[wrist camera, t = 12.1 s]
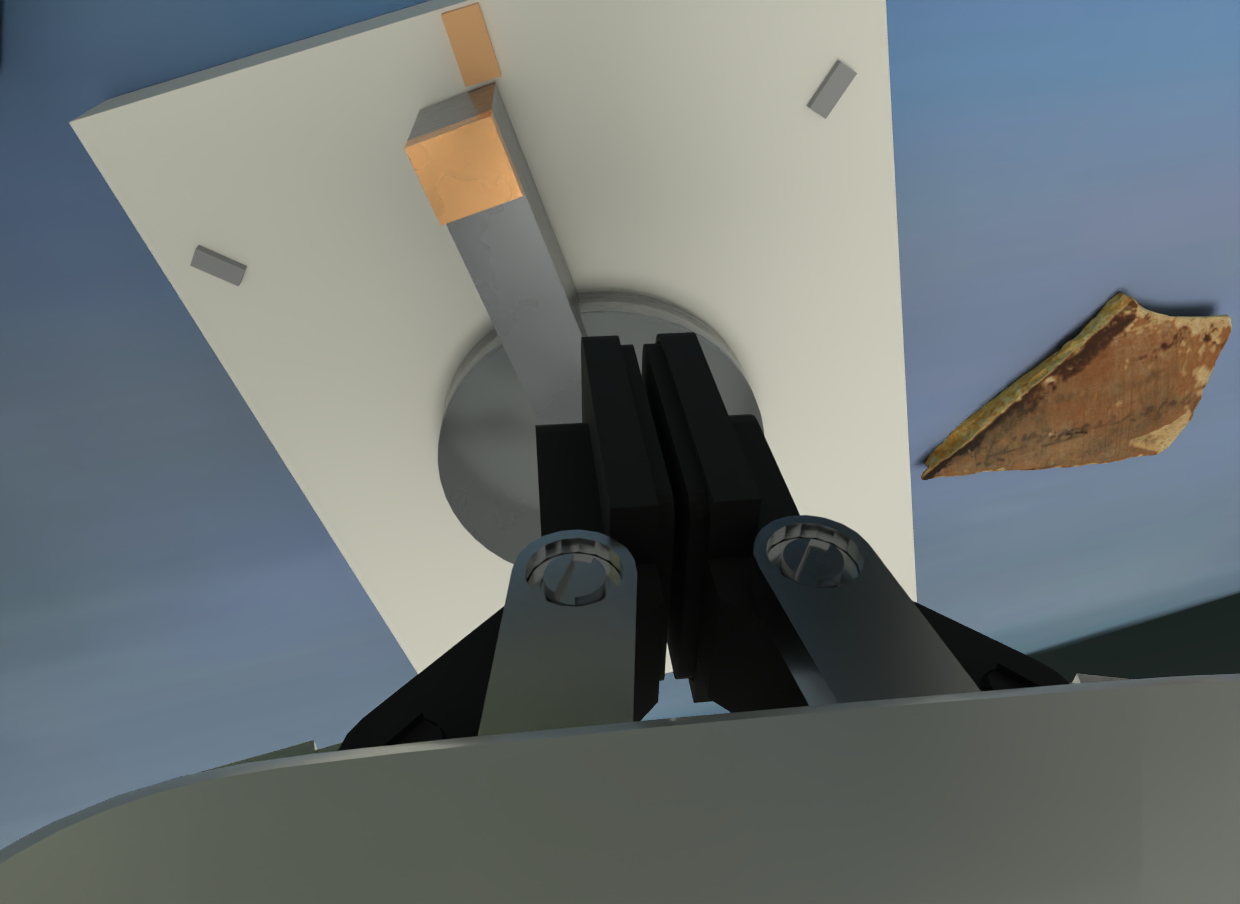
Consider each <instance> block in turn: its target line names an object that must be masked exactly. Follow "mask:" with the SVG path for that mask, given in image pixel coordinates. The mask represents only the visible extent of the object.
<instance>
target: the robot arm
mask: <svg viewBox="0 0 1240 904" xmlns="http://www.w3.org/2000/svg"><path fill="white" fill-rule="evenodd" d="M581 389H582V423H568V424H549V425H535V429H536V448H537V466H538V485H539V503H540V522H541V538H539V539H537V540H535V541H533V542H532V543H530V544H528V545H527V546H526V547H525V549H524V550H523V551H522V552H521V553H520V554H519V555H518V556H517V558H516V561H515V563H514V565H513V568H512V571H511V576H510V581H509V586H508V591H507V596H506V601H505V605H504V606H503V607H502V608H501V609H500V610H498V611H497V612H496V613H495V614H493V615H492V616H491V617H490V618H488V619H487V620H486V621H484V622H483V623H482V624H481V625H479V626H478V627H477V628H476V629H474V630H473V631H472V632H471V633H469V634H468V635H467V636H466V637H464V638H463V639H462V640H461V641H459V642H458V643H457V644H456V645H454V646H453V647H452V648H451V649H449V650H448V651H447V652H446V653H444V654H443V655H442V656H440V657H439V658H438V659H437V660H435V661H434V662H433V663H432V664H430V665H429V666H428V667H427V668H425V669H424V670H423V671H422V672H420V673H419V674H418V675H417V676H415V677H414V678H413V679H412V680H410V681H409V682H408V683H407V684H405V685H404V686H403V687H401V688H400V689H399V690H398V691H396V692H395V693H394V694H393V695H391V696H390V697H389V698H388V699H386V700H385V701H384V702H383V703H381V704H380V705H379V706H378V707H376V708H375V709H374V710H373V711H371V712H370V713H369V714H368V715H366V716H365V717H364V718H363V719H362V720H361V721H360V722H359V723H358V724H357V725H356V726H355V727H354V728H353V729H352V730H351V731H350V732H349V733H348V734H347V735H346V737H345V739H344V741H343V742H342V743H339V744H335V745H332V746H328V747H325V748H321V749H318V750H317V748H316V745H315V742H314V740H312V741H309V742H305V743H302V744H298V745H294V746H291V747H287V748H284V749H280V750H277V751H273V752H270V753H266V754H262V755H259V756H255V757H252V758H248V759H245V760H241V761H238V762H234V763H230V764H227V765H223V766H220V767H216V768H213V769H209V770H206V771H202V772H198V773H195V774H190V775H185V776H181V777H177V778H174V779H171V780H167V781H164V782H161V783H157V784H154V785H151V786H147V787H144V788H141V789H137V790H134V791H131V792H127V793H124V794H121V795H118V796H115V797H113V798H110V799H108V800H105V801H103V802H101V803H98V804H96V805H93V806H91V807H88V808H86V809H84V810H81V811H79V812H76V813H74V814H71V815H69V816H67V817H64V818H62V819H59V820H57V821H54V822H52V823H50V824H48V825H46V826H44V827H42V828H41V829H39V830H37V831H35V832H33V833H31V834H29V835H27V836H25V837H23V838H21V839H19V840H17V841H16V842H14V843H12V844H10V845H9V846H7V847H5V848H4V849H2V850H0V904H1240V674H1226V675H1198V676H1179V677H1164V678H1150V679H1136V680H1131V679H1121V678H1112V677H1103V676H1094V675H1084V674H1077V675H1076V677H1075V679H1074V681H1073V683H1069V682H1068V681H1066V680H1065V679H1064V678H1063V677H1062V676H1061V675H1060V674H1059V673H1057V672H1056V671H1054V670H1052V669H1051V668H1049V667H1047V666H1046V665H1044V664H1042V663H1040V662H1039V661H1037V660H1035V659H1033V658H1031V657H1029V656H1027V655H1025V654H1023V653H1021V652H1019V651H1016V650H1014V649H1012V648H1010V647H1008V646H1006V645H1004V644H1002V643H1000V642H998V641H996V640H993V639H991V638H989V637H987V636H985V635H983V634H981V633H979V632H977V631H975V630H973V629H971V628H968V627H966V626H964V625H962V624H960V623H958V622H956V621H954V620H952V619H950V618H948V617H945V616H943V615H941V614H939V613H937V612H935V611H933V610H931V609H929V608H927V607H925V606H923V605H920V604H918V603H916V602H914V601H912V600H911V598H910V597H909V596H908V595H907V593H906V592H905V591H904V589H903V588H902V587H901V585H900V584H899V583H898V581H897V580H896V579H895V577H894V576H893V575H892V573H891V572H890V571H889V570H888V568H887V567H886V566H885V564H884V563H883V562H882V560H881V559H880V558H879V556H878V555H877V554H876V552H875V551H874V550H873V548H872V547H871V546H870V545H869V543H868V542H867V541H866V540H865V539H864V538H862V537H861V536H860V535H859V534H858V533H857V532H856V531H854V530H852V529H851V528H849V527H847V526H845V525H844V524H842V523H839V522H836V521H833V520H830V519H827V518H824V517H817V516H810V515H800V514H799V512H798V509H797V507H796V505H795V503H794V500H793V498H792V496H791V494H790V492H789V489H788V487H787V485H786V483H785V480H784V478H783V476H782V474H781V472H780V469H779V467H778V465H777V463H776V460H775V458H774V456H773V454H772V452H771V449H770V447H769V445H768V443H767V440H766V438H765V436H764V434H763V432H762V429H761V427H760V425H759V423H758V421H757V419H756V417H755V416H754V415H752V414H742V415H728V413H727V410H726V408H725V405H724V403H723V400H722V398H721V395H720V393H719V390H718V388H717V385H716V383H715V380H714V378H713V375H712V373H711V370H710V368H709V365H708V363H707V360H706V358H705V355H704V353H703V350H702V348H701V345H700V343H699V340H698V338H697V335H696V334H695V332H685V333H661V334H657V336H656V341H655V343H652V344H644V345H643V351H642V375H641V372H640V368H639V364H638V360H637V356H636V353H635V349H634V346H633V344H629V345H621V343H620V339H619V336H618V335H613V336H589V337H581ZM667 645H668V649H669V654H670V659H671V664H672V669H673V673H674V676H675V679H685V678H688V679H689V683H690V688H691V692H692V697H693V701H694V703H698V702H709V701H714V702H715V703H717V704H719V705H720V706H722V707H723V708H725V709H727V710H728V711H730V713H725V714H714V715H702V716H691V717H680V718H669V719H658V720H647V721H641V720H642V719H643V717H644V716H645V715H646V714H647V713H648V712H649V711H650V710H651V709H652V708H653V707H654V706H655V704H656V703H657V702H658V694H659V681H661V680H664V677H665V664H666V649H667Z"/></svg>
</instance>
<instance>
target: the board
mask: <svg viewBox="0 0 1240 904" xmlns="http://www.w3.org/2000/svg"><path fill="white" fill-rule="evenodd" d="M492 82H496V84H497V87H498V90H499V92H500V95H501V97H502V100H503V102H504V105H505V108H506V110H507V113H508V115H509V118H510V120H511V123H512V126H513V128H514V131H515V133H516V136H517V138H518V141H519V143H520V146H521V149H522V151H523V154H524V156H525V159H526V161H527V164H528V167H529V169H530V172H531V174H532V177H533V179H534V182H535V185H536V187H537V190H538V192H539V195H540V197H541V200H542V203H543V205H544V208H545V210H546V213H547V215H548V218H549V221H550V223H551V226H552V228H553V231H554V233H555V236H556V239H557V241H558V244H559V246H560V249H561V251H562V254H563V256H564V259H565V262H566V264H567V267H568V269H569V272H570V274H571V277H572V280H573V282H574V285H575V287H576V290H577V292H578V293H583V292H593V291H616V292H627V293H635V294H640V295H644V296H649V297H653V298H657V299H659V300H662V301H665V302H668V303H670V304H673V305H676V306H678V307H679V308H681V309H683V310H685V311H687V312H689V313H691V314H693V315H694V316H696V317H697V318H699V319H700V320H702V321H703V322H704V323H706V324H707V325H709V326H710V327H711V328H712V329H713V330H714V331H715V332H716V333H717V334H718V335H719V336H720V337H721V338H722V339H724V341H725V342H726V343H727V345H728V346H729V347H730V348H731V350H732V351H733V352H734V354H735V355H736V357H737V359H738V361H739V363H740V364H741V366H742V368H743V370H744V372H745V375H746V377H747V379H748V382H749V384H750V387H751V389H752V391H753V394H754V396H755V399H756V402H757V404H758V407H759V410H760V413H761V416H762V422H763V428H764V436H765V438H766V440H767V443H768V445H769V447H770V449H771V452H772V454H773V456H774V458H775V460H776V463H777V465H778V467H779V469H780V472H781V474H782V476H783V478H784V480H785V483H786V485H787V487H788V489H789V492H790V494H791V496H792V498H793V500H794V503H795V505H796V507H797V509H798V512H799V514H800V515H810V516H817V517H824V518H827V519H830V520H833V521H836V522H839V523H842V524H844V525H845V526H847V527H849V528H851V529H852V530H854V531H856V532H857V533H858V534H859V535H860V536H861V537H862V538H864V539H865V540H866V541H867V542H868V543H869V545H870V546H871V547H872V548H873V550H874V551H875V552H876V554H877V555H878V556H879V558H880V559H881V560H882V562H883V563H884V564H885V566H886V567H887V568H888V570H889V571H890V572H891V573H892V575H893V576H894V577H895V579H896V580H897V581H898V583H899V584H900V585H901V587H902V588H903V589H904V591H905V592H906V593H907V595H908V596H909V597H910V598H911V600H912V601H914V602H916V603H917V597H916V578H915V558H914V539H913V520H912V500H911V481H910V461H909V442H908V423H907V403H906V384H905V365H904V345H903V326H902V306H901V287H900V268H899V248H898V229H897V210H896V190H895V171H894V151H893V132H892V113H891V93H890V74H889V55H888V35H887V16H886V0H430V1H427V2H424V3H420V4H417V5H414V6H411V7H407V8H404V9H401V10H398V11H394V12H391V13H388V14H384V15H381V16H378V17H375V18H371V19H368V20H365V21H362V22H358V23H355V24H352V25H349V26H345V27H342V28H339V29H336V30H332V31H329V32H326V33H322V34H319V35H316V36H313V37H309V38H306V39H303V40H300V41H296V42H293V43H290V44H287V45H283V46H280V47H277V48H274V49H270V50H267V51H264V52H260V53H257V54H254V55H251V56H247V57H244V58H241V59H238V60H234V61H231V62H228V63H225V64H221V65H218V66H215V67H212V68H208V69H205V70H202V71H199V72H195V73H192V74H189V75H185V76H182V77H179V78H176V79H172V80H169V81H166V82H163V83H159V84H156V85H153V86H150V87H146V88H143V89H140V90H137V91H133V92H130V93H127V94H123V95H120V96H117V97H114V98H110V99H107V100H105V101H104V102H102V103H100V104H99V105H97V106H95V107H94V108H92V109H90V110H89V111H87V112H85V113H84V114H82V115H80V116H79V117H77V118H75V119H74V120H72V121H70V122H69V123H70V125H71V127H72V128H73V130H74V131H75V133H76V135H77V136H78V138H79V139H80V141H81V142H82V144H83V146H84V147H85V149H86V150H87V152H88V153H89V155H90V157H91V158H92V160H93V161H94V163H95V165H96V166H97V168H98V169H99V171H100V172H101V174H102V176H103V177H104V179H105V180H106V182H107V183H108V185H109V187H110V188H111V190H112V191H113V193H114V195H115V196H116V198H117V199H118V201H119V202H120V204H121V206H122V207H123V209H124V210H125V212H126V213H127V215H128V217H129V218H130V220H131V221H132V223H133V225H134V226H135V228H136V229H137V231H138V232H139V234H140V236H141V237H142V239H143V240H144V242H145V243H146V245H147V247H148V248H149V250H150V251H151V253H152V254H153V256H154V258H155V259H156V261H157V262H158V264H159V266H160V267H161V269H162V270H163V272H164V273H165V275H166V277H167V278H168V280H169V281H170V283H171V284H172V286H173V288H174V289H175V291H176V292H177V294H178V296H179V297H180V299H181V300H182V302H183V303H184V305H185V307H186V308H187V310H188V311H189V313H190V314H191V316H192V318H193V319H194V321H195V322H196V324H197V326H198V327H199V329H200V330H201V332H202V333H203V335H204V337H205V338H206V340H207V341H208V343H209V344H210V346H211V348H212V349H213V351H214V352H215V354H216V356H217V357H218V359H219V360H220V362H221V363H222V365H223V367H224V368H225V370H226V371H227V373H228V374H229V376H230V378H231V379H232V381H233V382H234V384H235V386H236V387H237V389H238V390H239V392H240V393H241V395H242V397H243V398H244V400H245V401H246V403H247V404H248V406H249V408H250V409H251V411H252V412H253V414H254V416H255V417H256V419H257V420H258V422H259V423H260V425H261V427H262V428H263V430H264V431H265V433H266V434H267V436H268V438H269V439H270V441H271V442H272V444H273V446H274V447H275V449H276V450H277V452H278V453H279V455H280V457H281V458H282V460H283V461H284V463H285V464H286V466H287V468H288V469H289V471H290V472H291V474H292V476H293V477H294V479H295V480H296V482H297V483H298V485H299V487H300V488H301V490H302V491H303V493H304V494H305V496H306V498H307V499H308V501H309V502H310V504H311V506H312V507H313V509H314V510H315V512H316V513H317V515H318V517H319V518H320V520H321V521H322V523H323V524H324V526H325V528H326V529H327V531H328V532H329V534H330V536H331V537H332V539H333V540H334V542H335V543H336V545H337V547H338V548H339V550H340V551H341V553H342V554H343V556H344V558H345V559H346V561H347V562H348V564H349V566H350V567H351V569H352V570H353V572H354V573H355V575H356V577H357V578H358V580H359V581H360V583H361V584H362V586H363V588H364V589H365V591H366V592H367V594H368V596H369V597H370V599H371V600H372V602H373V603H374V605H375V607H376V608H377V610H378V611H379V613H380V614H381V616H382V618H383V619H384V621H385V622H386V624H387V626H388V627H389V629H390V630H391V632H392V633H393V635H394V637H395V638H396V640H397V641H398V643H399V644H400V646H401V648H402V649H403V651H404V652H405V654H406V656H407V657H408V659H409V660H410V662H411V663H412V665H413V667H414V668H415V670H416V671H417V673H418V674H419V673H420V672H422V671H423V670H424V669H425V668H427V667H428V666H429V665H430V664H432V663H433V662H434V661H435V660H437V659H438V658H439V657H440V656H442V655H443V654H444V653H446V652H447V651H448V650H449V649H451V648H452V647H453V646H454V645H456V644H457V643H458V642H459V641H461V640H462V639H463V638H464V637H466V636H467V635H468V634H469V633H471V632H472V631H473V630H474V629H476V628H477V627H478V626H479V625H481V624H482V623H483V622H484V621H486V620H487V619H488V618H490V617H491V616H492V615H493V614H495V613H496V612H497V611H498V610H500V609H501V608H502V607H503V606H504V605H505V601H506V596H507V591H508V586H509V581H510V576H511V571H512V568H513V565H514V564H512V563H510V562H507V561H505V560H503V559H502V558H500V557H499V556H497V555H496V554H494V553H492V552H491V551H489V550H488V549H487V548H485V547H484V546H483V545H482V544H481V543H479V542H478V541H477V540H476V539H475V538H474V537H473V536H472V535H471V534H470V533H469V532H468V531H467V530H466V529H465V528H464V527H463V525H462V524H461V523H460V521H459V520H458V518H457V517H456V516H455V514H454V513H453V511H452V509H451V507H450V505H449V503H448V501H447V499H446V497H445V494H444V491H443V488H442V484H441V481H440V476H439V469H438V442H439V435H440V428H441V422H442V415H443V409H444V404H445V399H446V395H447V393H448V390H449V387H450V384H451V381H452V379H453V377H454V375H455V374H456V372H457V370H458V368H459V366H460V364H461V363H462V361H463V360H464V359H465V357H466V356H467V355H468V353H469V352H470V351H471V349H472V348H473V347H474V346H475V345H476V344H477V343H478V342H479V341H480V340H481V339H482V338H483V337H484V336H485V335H486V334H487V333H488V332H490V331H491V330H492V329H494V328H495V327H494V325H493V323H492V321H491V319H490V317H489V315H488V312H487V310H486V308H485V306H484V304H483V302H482V300H481V298H480V295H479V293H478V291H477V289H476V287H475V285H474V283H473V281H472V278H471V276H470V274H469V272H468V270H467V268H466V266H465V264H464V261H463V259H462V257H461V255H460V253H459V251H458V249H457V247H456V244H455V242H454V240H453V238H452V236H451V234H450V232H449V230H448V227H447V225H446V224H444V225H440V223H439V221H438V219H437V217H436V215H435V213H434V211H433V208H432V206H431V204H430V202H429V200H428V198H427V196H426V194H425V192H424V189H423V187H422V185H421V183H420V181H419V179H418V177H417V175H416V173H415V170H414V168H413V166H412V164H411V162H410V160H409V158H408V156H407V154H406V152H405V149H404V147H405V145H406V142H407V140H408V138H409V135H410V133H411V130H412V128H413V125H414V123H415V120H416V118H417V115H418V113H419V111H420V109H423V108H426V107H428V106H431V105H434V104H436V103H439V102H442V101H444V100H447V99H450V98H452V97H455V96H458V95H460V94H463V93H466V92H468V91H471V90H474V89H476V88H479V87H482V86H484V85H487V84H490V83H492ZM668 672H673V669H672V664H671V659H670V654H669V649H668V645H667V649H666V664H665V673H668Z"/></svg>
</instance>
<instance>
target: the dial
mask: <svg viewBox="0 0 1240 904" xmlns="http://www.w3.org/2000/svg"><path fill="white" fill-rule="evenodd" d="M404 149H405V152H406V154H407V156H408V158H409V160H410V162H411V164H412V166H413V168H414V170H415V173H416V175H417V177H418V179H419V181H420V183H421V185H422V187H423V189H424V192H425V194H426V196H427V198H428V200H429V202H430V204H431V206H432V208H433V211H434V213H435V215H436V217H437V219H438V221H439V223H440V225H444V224H446V225H447V227H448V230H449V232H450V234H451V236H452V238H453V240H454V242H455V244H456V247H457V249H458V251H459V253H460V255H461V257H462V259H463V261H464V264H465V266H466V268H467V270H468V272H469V274H470V276H471V278H472V281H473V283H474V285H475V287H476V289H477V291H478V293H479V295H480V298H481V300H482V302H483V304H484V306H485V308H486V310H487V312H488V315H489V317H490V319H491V321H492V323H493V325H494V327H495V328H494V329H492V330H491V331H490V332H488V333H487V334H486V335H485V336H484V337H483V338H482V339H481V340H480V341H479V342H478V343H477V344H476V345H475V346H474V347H473V348H472V349H471V351H470V352H469V353H468V355H467V356H466V357H465V359H464V360H463V361H462V363H461V364H460V366H459V368H458V370H457V372H456V374H455V375H454V377H453V379H452V381H451V384H450V387H449V390H448V393H447V395H446V399H445V404H444V409H443V415H442V422H441V428H440V435H439V442H438V469H439V476H440V481H441V484H442V488H443V491H444V494H445V497H446V499H447V501H448V503H449V505H450V507H451V509H452V511H453V513H454V514H455V516H456V517H457V518H458V520H459V521H460V523H461V524H462V525H463V527H464V528H465V529H466V530H467V531H468V532H469V533H470V534H471V535H472V536H473V537H474V538H475V539H476V540H477V541H478V542H479V543H481V544H482V545H483V546H484V547H485V548H487V549H488V550H489V551H491V552H492V553H494V554H496V555H497V556H499V557H500V558H502V559H503V560H505V561H507V562H510V563H512V564H514V563H515V561H516V558H517V556H518V555H519V554H520V553H521V552H522V551H523V550H524V549H525V547H526V546H527V545H528V544H530V543H532V542H533V541H535V540H537V539H539V538H541V522H540V503H539V485H538V466H537V448H536V429H535V425H549V424H568V423H582V389H581V337H589V336H613V335H618V336H619V339H620V343H621V345H629V344H633V346H634V349H635V353H636V356H637V360H638V364H639V368H640V372H641V375H642V351H643V345H644V344H652V343H655V341H656V336H657V334H661V333H685V332H695V334H696V335H697V338H698V340H699V343H700V345H701V348H702V350H703V353H704V355H705V358H706V360H707V363H708V365H709V368H710V370H711V373H712V375H713V378H714V380H715V383H716V385H717V388H718V390H719V393H720V395H721V398H722V400H723V403H724V405H725V408H726V410H727V413H728V415H742V414H752V415H754V416H755V417H756V419H757V421H758V423H759V425H760V427H761V429H762V432H763V434H764V428H763V422H762V416H761V413H760V410H759V407H758V404H757V402H756V399H755V396H754V394H753V391H752V389H751V387H750V384H749V382H748V379H747V377H746V375H745V372H744V370H743V368H742V366H741V364H740V363H739V361H738V359H737V357H736V355H735V354H734V352H733V351H732V350H731V348H730V347H729V346H728V345H727V343H726V342H725V341H724V339H722V338H721V337H720V336H719V335H718V334H717V333H716V332H715V331H714V330H713V329H712V328H711V327H710V326H709V325H707V324H706V323H704V322H703V321H702V320H700V319H699V318H697V317H696V316H694V315H693V314H691V313H689V312H687V311H685V310H683V309H681V308H679V307H678V306H676V305H673V304H670V303H668V302H665V301H662V300H659V299H657V298H653V297H649V296H644V295H640V294H635V293H627V292H616V291H593V292H583V293H578V292H577V290H576V287H575V285H574V282H573V280H572V277H571V274H570V272H569V269H568V267H567V264H566V262H565V259H564V256H563V254H562V251H561V249H560V246H559V244H558V241H557V239H556V236H555V233H554V231H553V228H552V226H551V223H550V221H549V218H548V215H547V213H546V210H545V208H544V205H543V203H542V200H541V197H540V195H539V192H538V190H537V187H536V185H535V182H534V179H533V177H532V174H531V172H530V169H529V167H528V164H527V161H526V159H525V156H524V154H523V151H522V149H521V146H520V143H519V141H518V138H517V136H516V133H515V131H514V128H513V126H512V123H511V120H510V118H509V115H508V113H507V110H506V108H505V105H504V102H503V100H502V97H501V95H500V92H499V90H498V87H497V84H496V82H492V83H490V84H487V85H484V86H482V87H479V88H476V89H474V90H471V91H468V92H466V93H463V94H460V95H458V96H455V97H452V98H450V99H447V100H444V101H442V102H439V103H436V104H434V105H431V106H428V107H426V108H423V109H420V111H419V113H418V115H417V118H416V120H415V123H414V125H413V128H412V130H411V133H410V135H409V138H408V140H407V142H406V145H405V147H404Z"/></svg>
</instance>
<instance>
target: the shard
mask: <svg viewBox="0 0 1240 904" xmlns="http://www.w3.org/2000/svg"><path fill="white" fill-rule="evenodd" d="M1231 330H1232V325H1231V317H1230V316H1228V315H1214V316H1206V317H1204V316H1192V317H1180V316H1177V317H1174V316H1168V315H1165V314H1160V313H1156V312H1153V311H1150V310H1146V309H1145V308H1143V307H1142V306H1141V305H1139V304H1138V303H1137V302H1136V301H1135V300H1134V299H1133V298H1131V297H1129V296H1127V295H1125V294H1122V293H1118V294H1117V295H1115V296H1114V297H1112V298H1111V299H1110V300H1109V301H1108V302H1107V303H1106V304H1105V305H1104V307H1103V308H1102V309H1101V311H1100V312H1099V313H1098V314H1097V316H1096V317H1095V318H1093V319H1092V320H1090V321H1089V323H1088V324H1087V325H1086V326H1085V327H1084V328H1083V329H1082V331H1081V332H1080V333H1079V335H1077V336H1076V337H1075V338H1074V339H1072V340H1070V341H1068V342H1067V343H1066V344H1064V346H1063V347H1062V348H1061V349H1060V350H1059V351H1057V352H1055V353H1054V354H1053V355H1051V356H1050V357H1048V358H1047V359H1045V360H1044V361H1043V362H1042V363H1040V364H1039V365H1038V366H1037V367H1035V368H1034V369H1032V370H1031V371H1030V372H1028V373H1026V374H1025V375H1023V376H1022V377H1020V378H1019V379H1017V380H1016V381H1015V382H1014V383H1013V384H1012V385H1011V386H1009V387H1008V388H1006V389H1005V390H1003V391H1002V392H1001V393H1000V394H999V395H998V396H997V397H995V398H994V399H993V400H990V401H989V402H988V403H987V404H985V405H984V406H983V407H982V408H981V409H980V410H979V411H977V412H976V413H974V414H972V415H971V416H970V417H969V418H968V419H966V420H965V421H963V422H962V423H961V425H959V426H958V427H957V428H956V429H955V430H954V431H953V432H952V433H950V435H949V436H948V437H947V439H946V440H945V441H944V442H942V443H941V444H940V445H939V446H937V447H936V448H935V450H934V451H933V452H932V453H931V454H930V456H929V457H928V458H927V461H926V462H925V465H926V466H927V467H928V468H927V469H926V470H925V471H924V472H923V474H922V476H921V479H922V480H928V479H931V478H937V477H950V476H963V475H969V474H975V473H978V472H982V471H987V472H989V471H1001V470H1003V471H1005V470H1039V469H1046V468H1054V467H1062V468H1066V467H1075V466H1082V465H1087V464H1102V463H1109V462H1114V461H1121V460H1124V459H1127V458H1129V457H1137V456H1146V455H1156V454H1159V453H1161V452H1162V451H1163V450H1165V449H1166V448H1168V447H1169V446H1170V445H1171V444H1172V442H1173V441H1174V440H1175V439H1176V437H1177V436H1178V435H1179V434H1180V432H1181V431H1182V430H1183V428H1184V427H1185V426H1186V425H1187V424H1188V422H1189V421H1190V420H1191V418H1192V416H1193V412H1194V410H1195V409H1196V407H1197V405H1198V403H1199V401H1200V400H1201V397H1202V391H1203V389H1204V387H1205V386H1206V384H1207V382H1208V379H1209V377H1210V375H1211V373H1212V370H1213V368H1214V365H1215V362H1216V360H1217V358H1218V356H1219V354H1220V352H1221V350H1222V349H1223V347H1224V345H1225V344H1226V342H1227V340H1228V337H1229V335H1230V332H1231Z"/></svg>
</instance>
